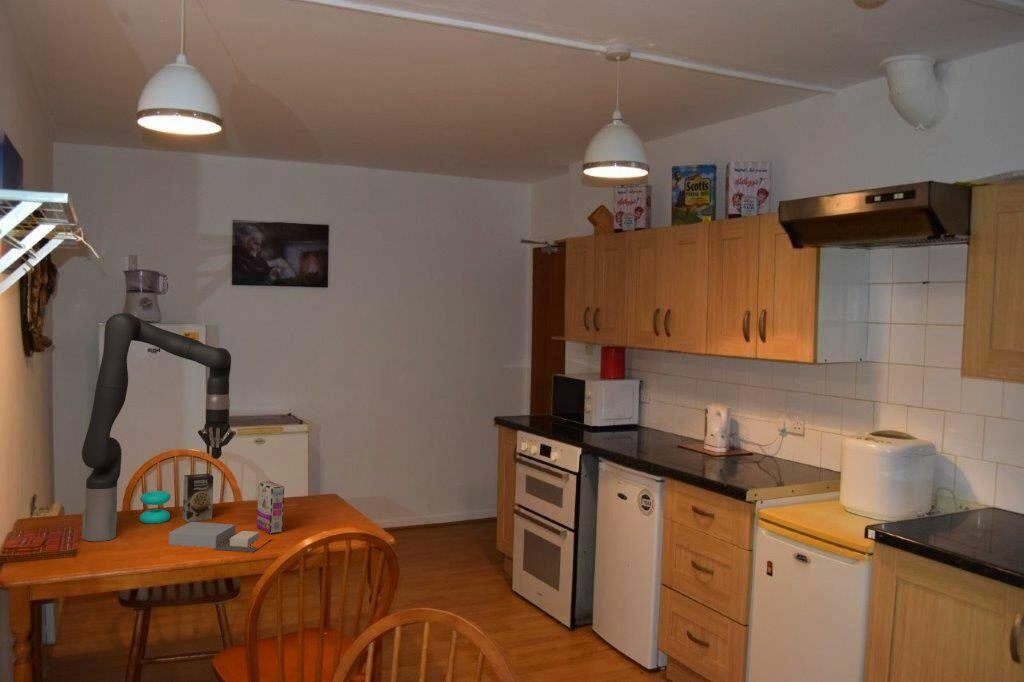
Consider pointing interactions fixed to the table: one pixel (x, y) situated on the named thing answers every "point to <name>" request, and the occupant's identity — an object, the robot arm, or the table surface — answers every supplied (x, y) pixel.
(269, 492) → the candy bar box
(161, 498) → the donuts
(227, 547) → the mat
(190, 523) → the block
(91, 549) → the table surface
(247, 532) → the white rectangular block
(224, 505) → the table surface
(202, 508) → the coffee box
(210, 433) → the robot arm
